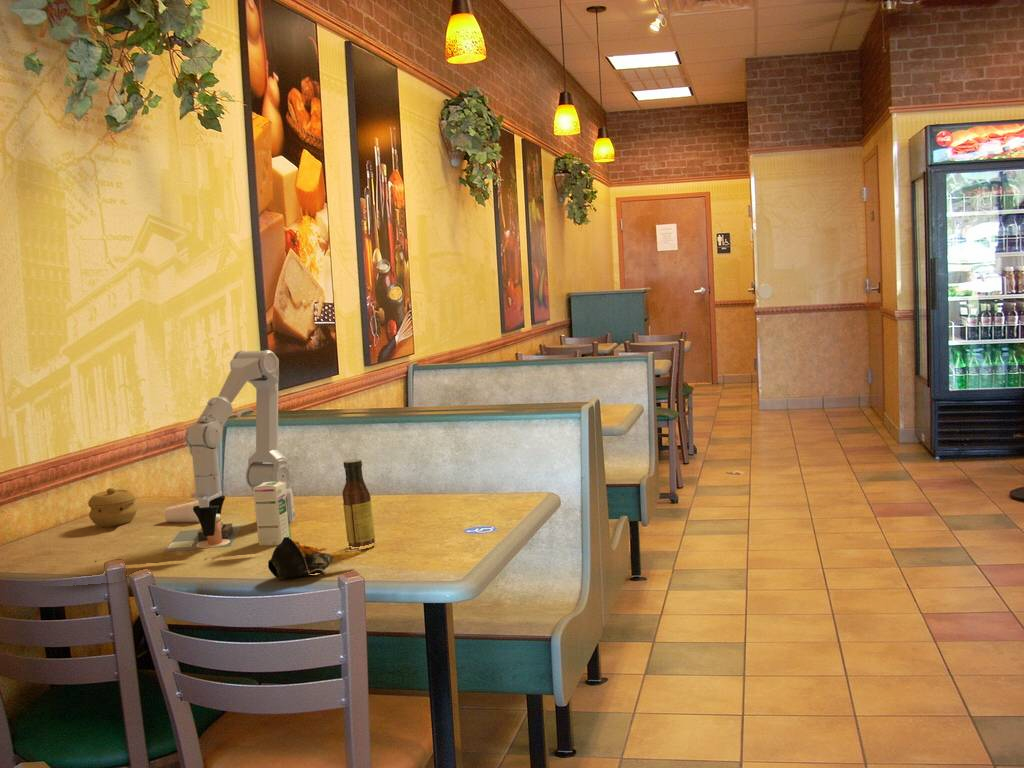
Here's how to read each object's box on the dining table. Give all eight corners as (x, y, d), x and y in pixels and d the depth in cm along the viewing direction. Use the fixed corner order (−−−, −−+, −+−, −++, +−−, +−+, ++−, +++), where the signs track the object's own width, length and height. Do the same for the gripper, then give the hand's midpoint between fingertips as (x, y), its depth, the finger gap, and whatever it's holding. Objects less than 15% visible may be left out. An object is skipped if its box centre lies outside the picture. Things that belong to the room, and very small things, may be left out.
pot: (80, 531, 274) (76, 492, 273) (109, 520, 285) (105, 483, 284) (119, 531, 270) (116, 492, 269) (147, 520, 282) (143, 483, 281)
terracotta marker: (223, 540, 250) (221, 513, 249) (221, 543, 246) (219, 516, 246) (208, 541, 249) (206, 514, 249) (206, 545, 246) (203, 517, 245)
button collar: (232, 531, 259) (232, 523, 259) (228, 538, 252) (227, 530, 252) (203, 533, 258) (202, 525, 258) (198, 540, 251) (197, 532, 251)
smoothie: (159, 510, 270) (212, 504, 269) (169, 497, 276) (220, 492, 275) (166, 531, 273) (218, 526, 271) (175, 519, 278) (226, 514, 277)
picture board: (242, 528, 265) (242, 525, 265) (230, 549, 245) (230, 545, 244) (180, 534, 263) (180, 530, 263) (163, 555, 243) (163, 551, 243)
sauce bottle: (380, 544, 241) (374, 457, 239) (368, 551, 235) (361, 462, 233) (354, 543, 244) (348, 457, 241) (341, 550, 238) (334, 462, 236)
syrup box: (282, 548, 243) (277, 485, 241) (257, 548, 244) (252, 486, 242) (291, 541, 248) (286, 480, 247) (268, 542, 250) (262, 481, 248)
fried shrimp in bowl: (256, 555, 220) (328, 513, 229) (283, 601, 219) (354, 557, 228) (266, 547, 212) (340, 503, 221) (294, 595, 211) (368, 549, 221)
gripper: (194, 470, 253) (199, 526, 254) (183, 481, 239) (188, 540, 240) (224, 467, 254) (229, 523, 255) (215, 478, 239) (220, 538, 241)
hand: (212, 531), depth 248 cm, fingers open, 7 cm apart
